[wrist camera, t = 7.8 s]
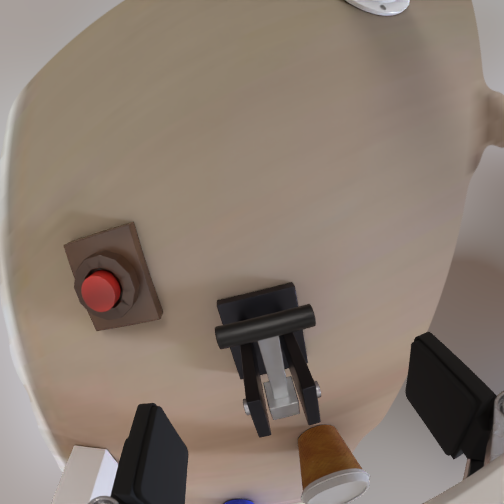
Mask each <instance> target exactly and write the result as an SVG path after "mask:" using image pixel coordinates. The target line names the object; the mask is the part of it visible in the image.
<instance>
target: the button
mask: <svg viewBox="0 0 504 504" xmlns="http://www.w3.org/2000/svg"><path fill="white" fill-rule="evenodd" d="M81 292H82V297H83V299H84V301H85V303H86V304H87V305H88V306H89V307H90V308H91V309H93V310H95V311H98V312H106V311H108V310H110V309H111V308H112V307H113V306H114V304H115V303H116V302H117V301H118V299H119V297H120V294H121V288H120V284H119V282H118V280H117V279H116V277H115V276H114V275H113V274H111V273H110V272H108V271H104V270H98V271H95V272H94V273H92V274H91V275H90V276H89V277H88V278H86V279H85V280H84V282H83V284H82V288H81Z"/></svg>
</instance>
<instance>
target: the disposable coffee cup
mask: <svg viewBox="0 0 504 504" xmlns="http://www.w3.org/2000/svg"><path fill="white" fill-rule="evenodd" d="M298 447H299V456H300V466H301V476H302V486H303V492H302V496H301V500H302V502H303V503H305V504H347V503H349V502H352V501H354V500H355V499H357V498H358V497H360V496H362V495H363V494H364V493H365V492H366V491H367V490H368V488H369V486H370V484H369V480H370V475H369V474H368V473H367V472H365V471H364V470H363V469H362V468H361V466H360V465H359V463H358V462H357V460H356V459H355V457H354V456H353V454H352V453H351V451H350V450H349V448H348V447H347V445H346V443H345V442H344V440H343V439H342V437H341V436H340V434H339V433H338V431H337V430H336V428H335V427H333V426H331V425H320V426H316V427H313V428H311V429H309V430H307V431H305V432H304V433H303V434H302V435H301V436H300V437H299V439H298Z"/></svg>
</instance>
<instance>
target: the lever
mask: <svg viewBox="0 0 504 504" xmlns="http://www.w3.org/2000/svg"><path fill="white" fill-rule="evenodd" d="M315 324H316V322H315V316H314V312H313V309H312V307H311V305H310V304H307V305H303V306H299V307H296V308H292V309H288V310H284V311H280V312H276V313H272V314H268V315H264V316H260V317H256V318H252V319H248V320H244V321H239V322H235V323H231V324H226V325H222V326H217V327H215V335H216V339H217V343H218V346H219V348H220V349H224V348H229V347H234V346H238V345H243V344H247V343H251V342H256V341H258V344H259V347H260V351H261V354H262V358H263V361H264V365H265V368H266V372H267V375H268V378H269V382H264V383H263V384H264V388H265V393H266V397H267V402H268V406H269V410H270V412H271V415H272V418H273V420H276V419H281V418H285V417H289V416H293V415H296V414H300V411H299V401H298V398H297V395H296V391H295V388H294V384H293V381H292V377H291V376H289V377H286V375H285V369H284V363H283V358H282V352H281V346H280V341H279V336H280V335H284V334H288V333H291V332H295V331H299V330H302V329H306V328H310V327H313V326H315Z"/></svg>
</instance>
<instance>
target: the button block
mask: <svg viewBox="0 0 504 504" xmlns="http://www.w3.org/2000/svg"><path fill="white" fill-rule="evenodd" d="M64 248H65V251H66V254H67V257H68V260H69V263H70V266H71V269H72V272H73V275H74V278H75V284H74V288H75V291H76V293H77V296H78V298H79V301H80V303H81V304H82V305H83V306H84V307H85V308H86V309H87V311H88V313H89V315H90V318H91V320H92V322H93V324H94V327H95V329H96V331H100V330H106V329H111V328H117V327H122V326H128V325H133V324H138V323H143V322H149V321H154V320H159V319H160V318H161V316H162V313H163V311H162V308H161V305H160V303H159V300H158V297H157V294H156V291H155V289H154V286H153V283H152V280H151V277H150V274H149V271H148V268H147V265H146V262H145V258H144V255H143V252H142V249H141V245H140V242H139V239H138V235H137V232H136V228H135V225H134V222H131V223H128V224H124V225H121V226H118V227H114V228H111V229H108V230H105V231H102V232H99V233H95V234H92V235H89V236H86V237H83V238H80V239H77V240H74V241H71V242H69V243H67V244H65V245H64ZM98 270H104V271H108V272H110V273H111V274H113V275H114V276H115V277H116V279H117V280H118V282H119V284H120V288H121V294H120V297H119V299H118V301H117V302H116V303H115V304H114V306H113V307H112V308H111V309H110V310H108V311H106V312H98V311H95V310H93V309H91V308H90V307H89V306H88V305H87V304H86V303H85V301H84V299H83V297H82V292H81V288H82V284H83V282H84V280H85V279H86V278H88V277H89V276H90V275H91V274H92V273H94V272H95V271H98Z"/></svg>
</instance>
